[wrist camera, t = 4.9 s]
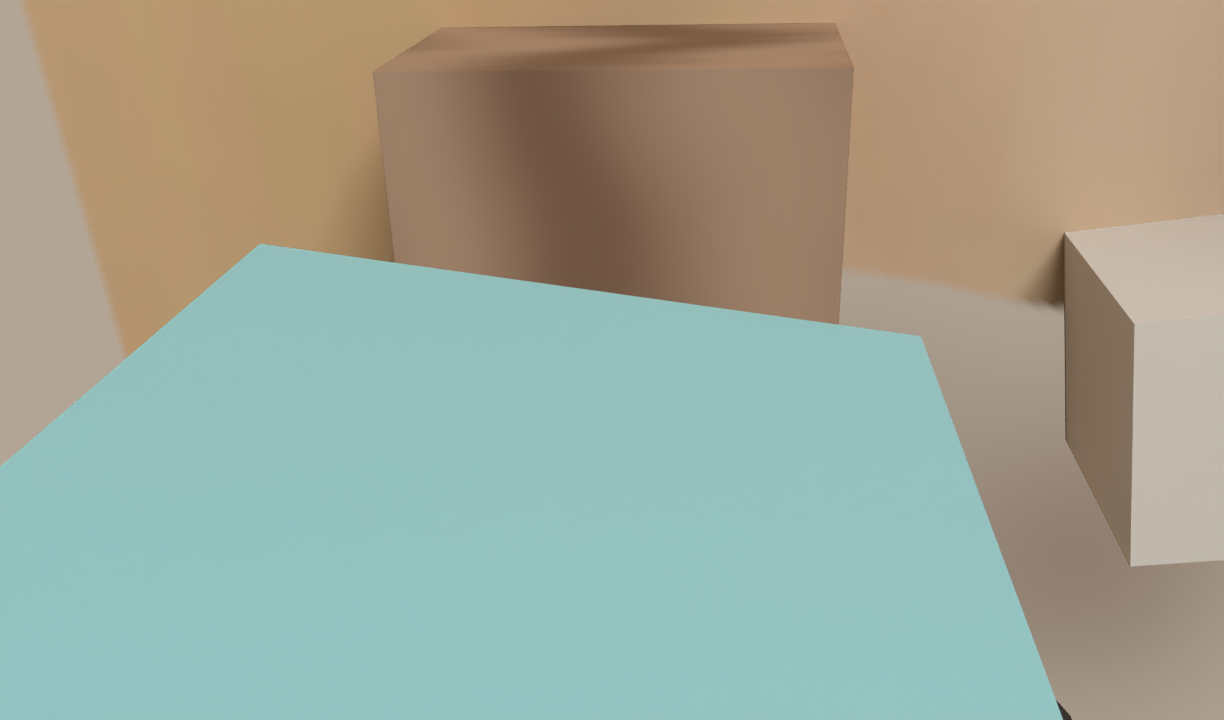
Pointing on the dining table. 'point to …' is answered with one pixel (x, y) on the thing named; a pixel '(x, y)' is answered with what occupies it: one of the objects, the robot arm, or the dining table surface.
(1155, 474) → the grey cube
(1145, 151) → the dining table surface
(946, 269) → the dining table surface
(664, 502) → the teal cube
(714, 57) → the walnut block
